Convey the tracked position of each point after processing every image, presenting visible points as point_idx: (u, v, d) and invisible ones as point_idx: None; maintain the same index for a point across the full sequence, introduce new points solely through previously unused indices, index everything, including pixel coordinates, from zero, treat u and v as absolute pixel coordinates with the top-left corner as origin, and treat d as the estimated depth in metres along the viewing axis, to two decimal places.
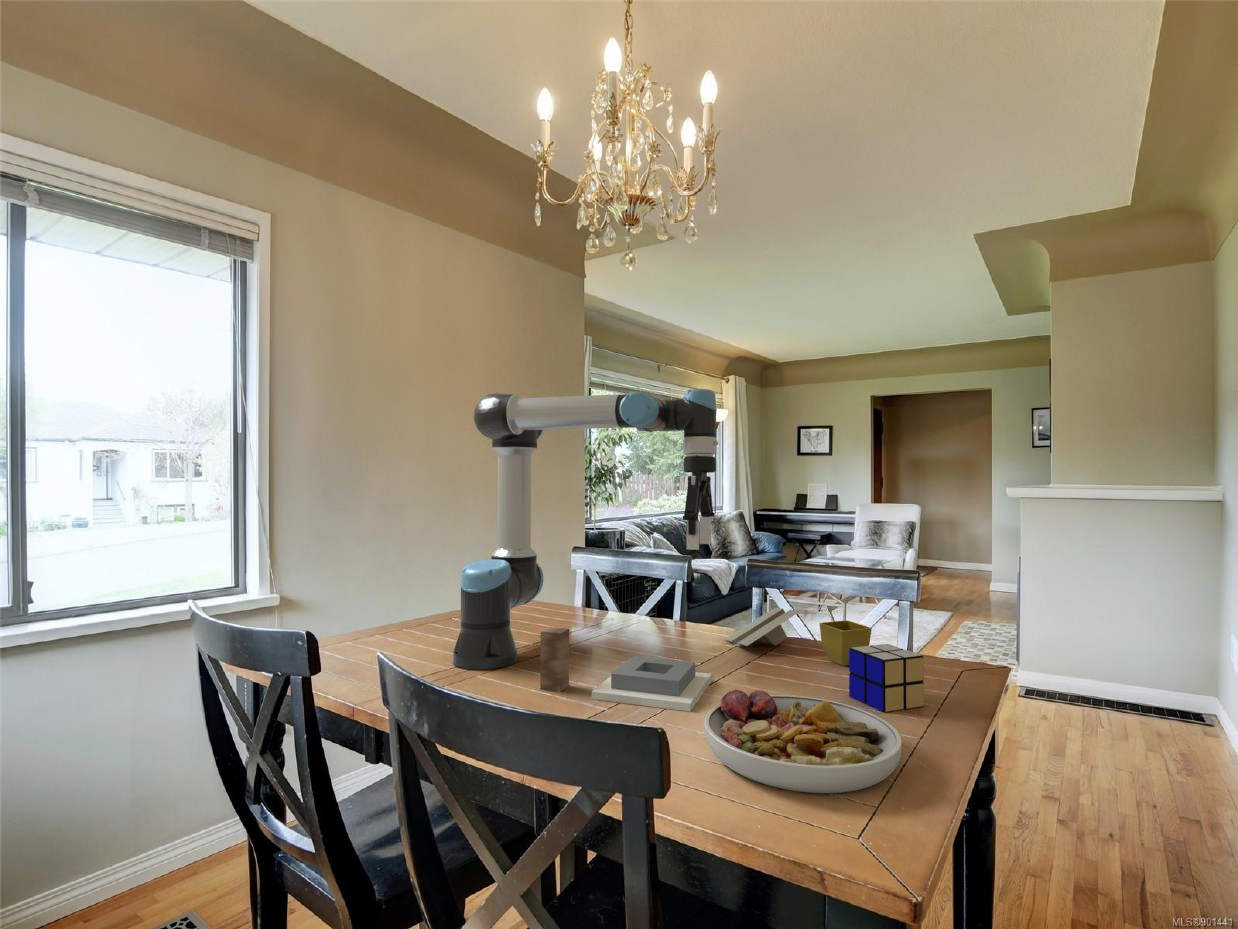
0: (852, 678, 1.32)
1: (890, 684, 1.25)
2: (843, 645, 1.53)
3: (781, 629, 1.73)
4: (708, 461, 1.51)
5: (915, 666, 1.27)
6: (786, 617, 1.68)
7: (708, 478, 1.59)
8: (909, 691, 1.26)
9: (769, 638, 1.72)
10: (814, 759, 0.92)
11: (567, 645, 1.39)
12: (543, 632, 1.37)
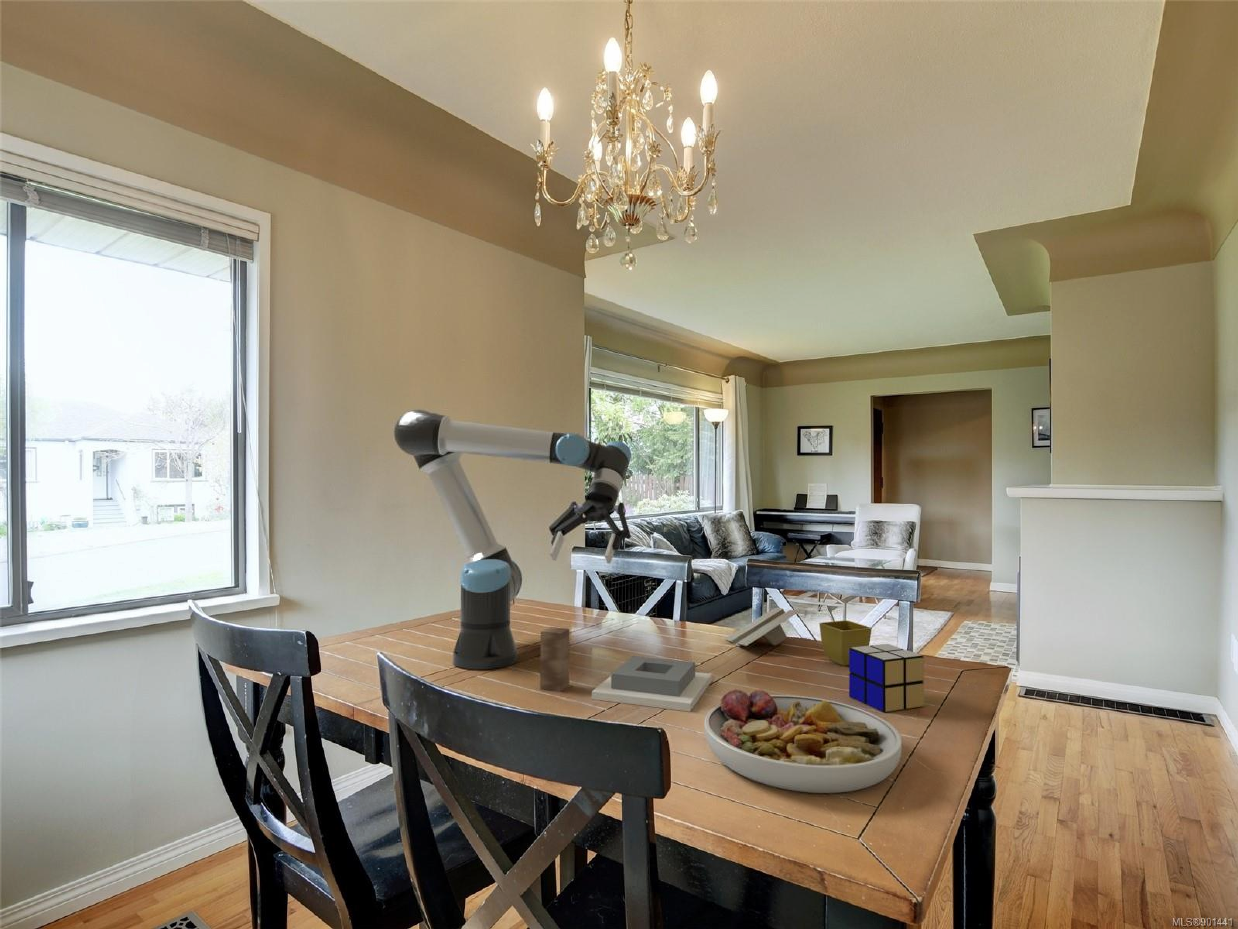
0: (852, 678, 1.32)
1: (890, 684, 1.25)
2: (843, 645, 1.53)
3: (781, 629, 1.73)
4: None
5: (915, 666, 1.27)
6: (785, 617, 1.68)
7: None
8: (909, 691, 1.26)
9: (769, 638, 1.72)
10: (814, 759, 0.92)
11: (567, 645, 1.39)
12: (543, 632, 1.37)
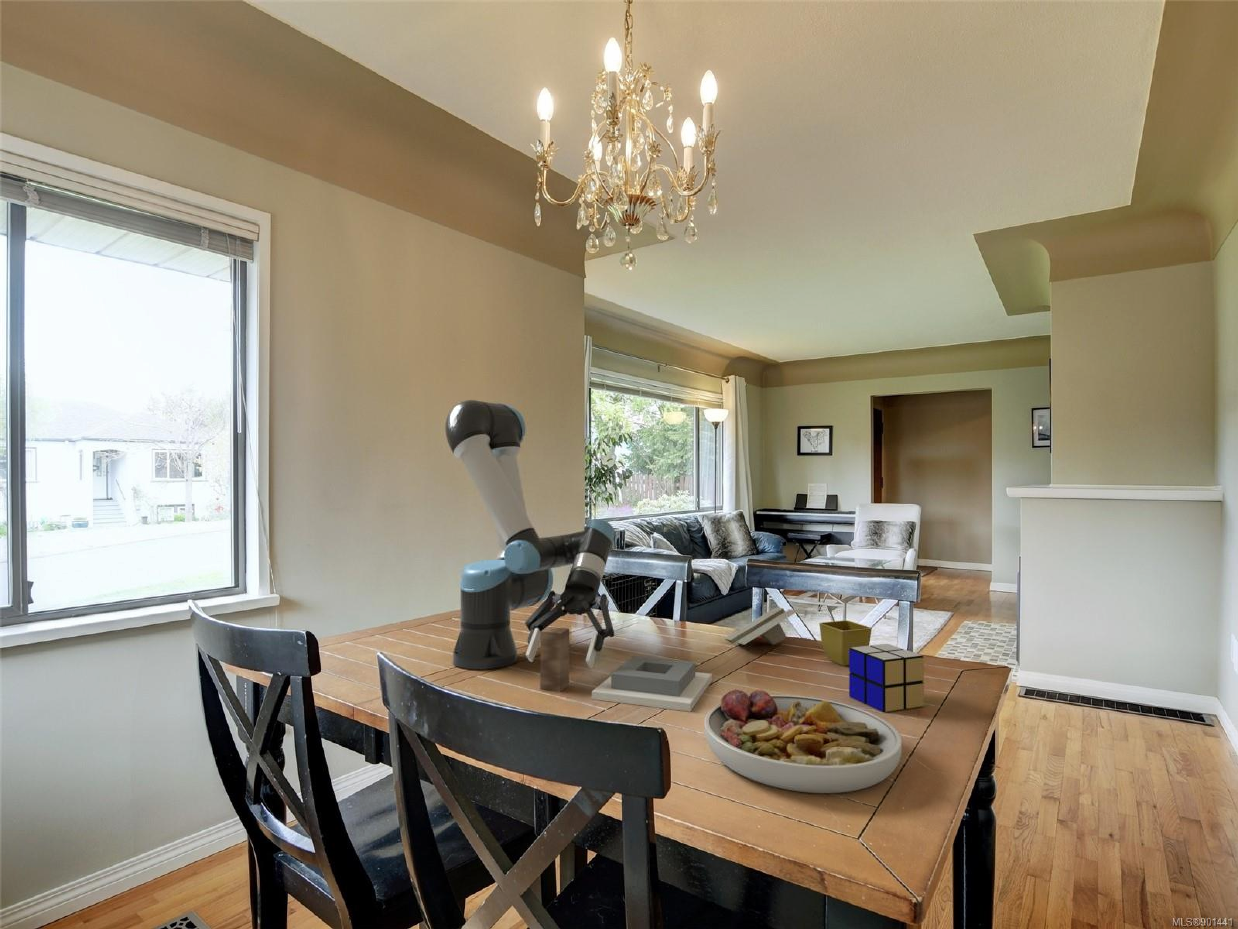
0: (852, 678, 1.32)
1: (890, 684, 1.25)
2: (843, 645, 1.53)
3: (780, 628, 1.73)
4: None
5: (915, 666, 1.27)
6: (784, 616, 1.69)
7: None
8: (909, 691, 1.26)
9: (768, 637, 1.73)
10: (814, 759, 0.92)
11: (567, 645, 1.39)
12: (543, 632, 1.37)
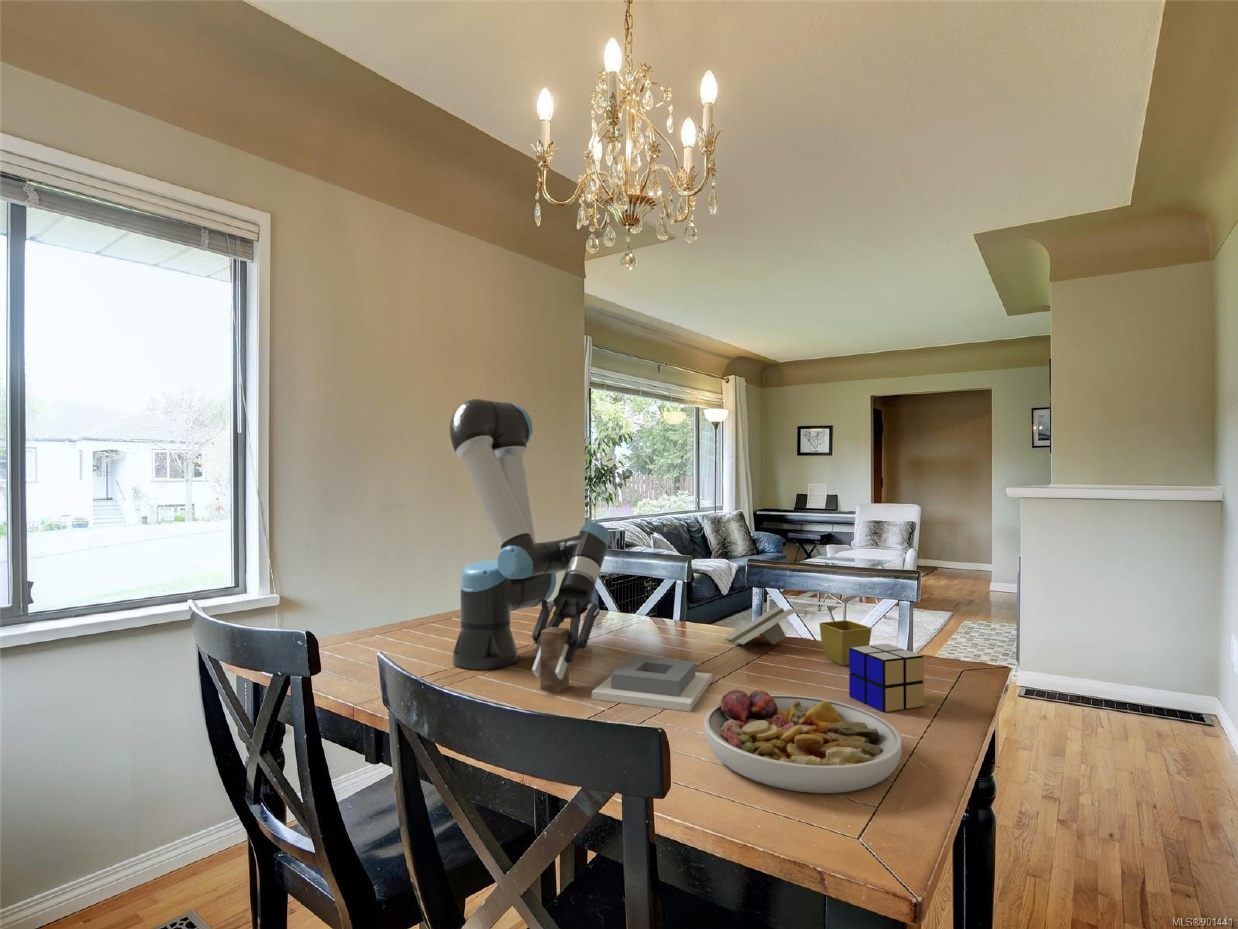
0: (852, 678, 1.32)
1: (890, 684, 1.25)
2: (843, 645, 1.53)
3: (780, 628, 1.74)
4: None
5: (915, 666, 1.27)
6: (783, 616, 1.69)
7: None
8: (909, 691, 1.26)
9: (767, 637, 1.73)
10: (814, 759, 0.92)
11: None
12: (543, 632, 1.37)
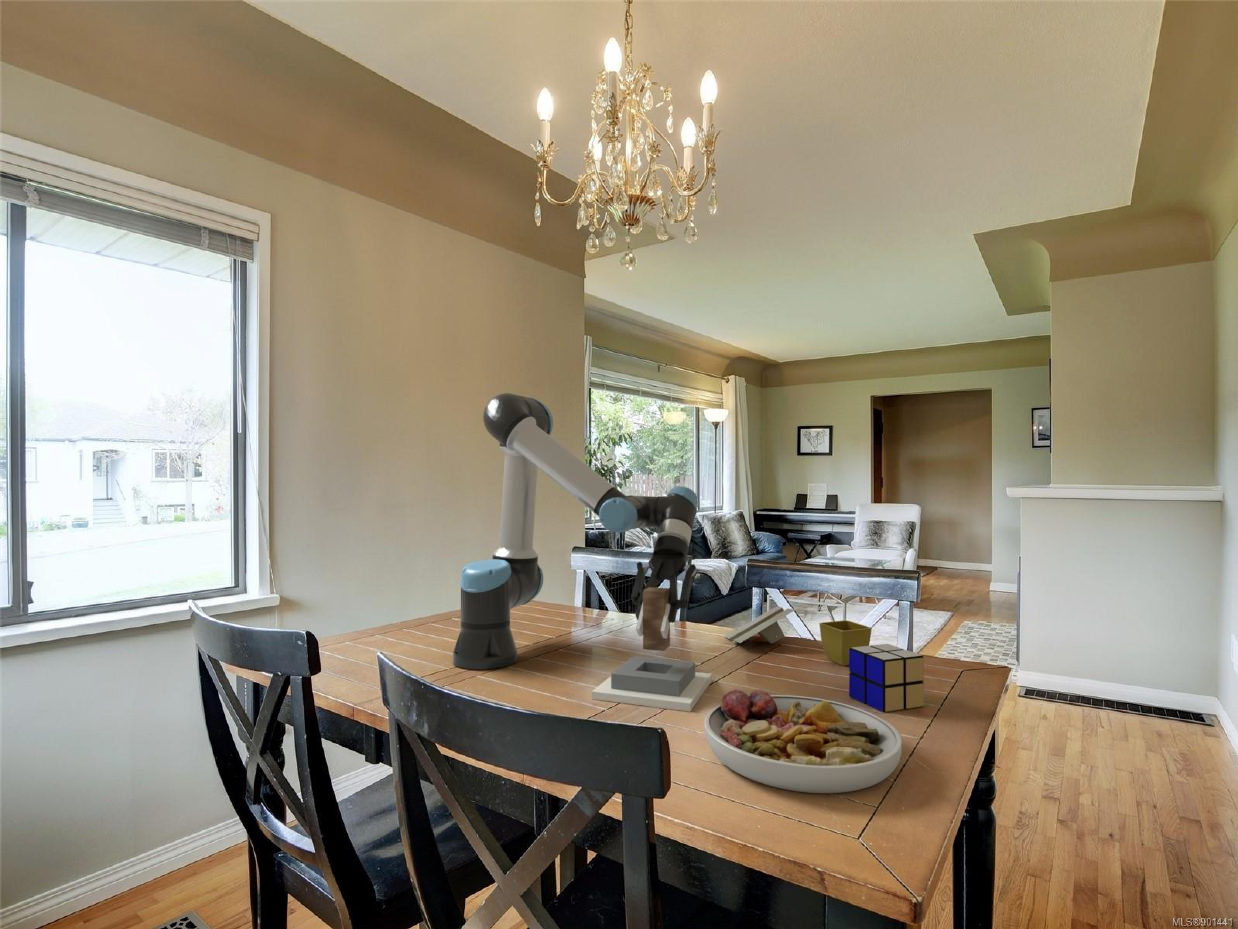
0: (852, 678, 1.32)
1: (890, 684, 1.25)
2: (843, 645, 1.53)
3: (778, 627, 1.75)
4: None
5: (915, 666, 1.27)
6: (781, 616, 1.70)
7: None
8: (909, 691, 1.26)
9: (766, 636, 1.74)
10: (814, 759, 0.92)
11: None
12: (645, 591, 1.36)
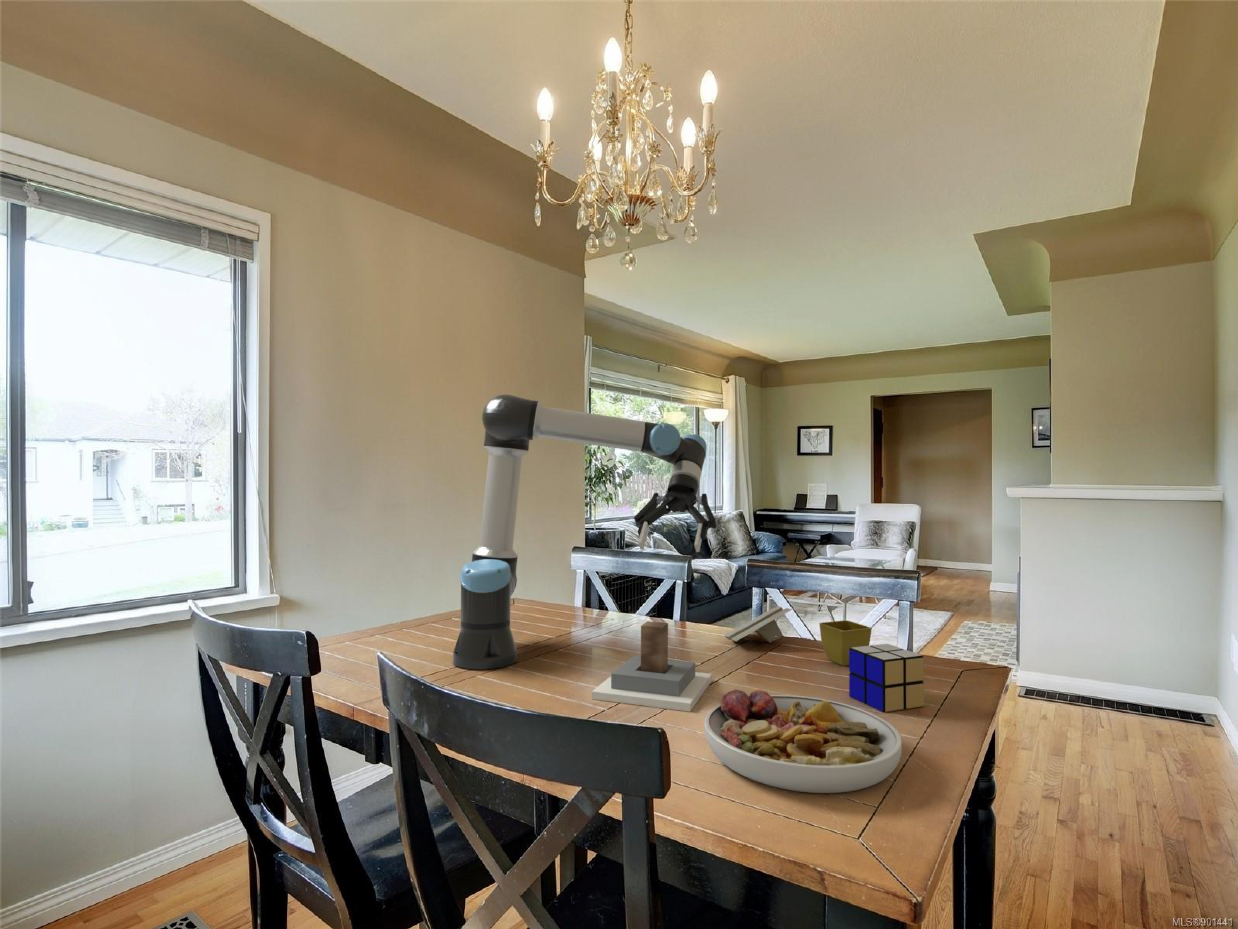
0: (852, 678, 1.32)
1: (890, 684, 1.25)
2: (843, 645, 1.53)
3: (776, 627, 1.76)
4: None
5: (915, 666, 1.27)
6: (778, 615, 1.71)
7: None
8: (909, 691, 1.26)
9: (764, 635, 1.75)
10: (814, 759, 0.92)
11: (666, 639, 1.38)
12: (643, 626, 1.36)
